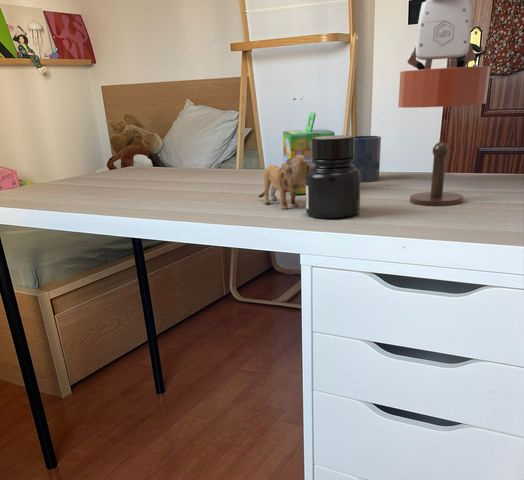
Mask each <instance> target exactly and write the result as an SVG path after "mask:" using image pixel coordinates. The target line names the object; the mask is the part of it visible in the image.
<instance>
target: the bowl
mask: <svg viewBox="0 0 524 480" xmlns="http://www.w3.org/2000/svg"><path fill="white" fill-rule="evenodd" d="M491 68H492V67H491V65H476V66H463V67H455V68H449V67H442V68H441V67H440V68H431V69H424V70H418V69H414V70H403V71H400V73H399V86H398V87H399V91H398V105H397V107H398V108H401V109H402V108H403V109H404V108H407V109H408V108H409V109H410V108H412V109H413V108H444V107H461V106H462V107H464V106H477V105H484V104H487V100H488V99H487V98H488V89H489V82H490V74H491Z"/></svg>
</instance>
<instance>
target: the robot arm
mask: <svg viewBox="0 0 524 480" xmlns="http://www.w3.org/2000/svg"><path fill="white" fill-rule="evenodd" d="M416 29H417V30H416V39H415V46H414V47H413V50H412V51H411V53H410V54H409V57H408V59H407V64H408V65H410V66H411V67H413V68H416V70H424V69H432V64H433V60H444V59H448V68H455V67H465V65H467V64H468V63H471V62H472V61H474V60H475V59H476V53H475V51H474V49H473V47H472V44H471V29H472V0H425V1H423V2H422V3H421V6H420V10H419V15H418V20H417V28H416ZM464 56H465V57H464ZM461 57H463V58H461ZM457 58H461V59H460V60H459V61H457V60H458V59H457ZM417 59H418V60H417ZM419 60H421V61H422V60H423V61H425V63H424V64H423V63H422V62H421V61H419Z"/></svg>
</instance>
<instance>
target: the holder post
mask: <svg viewBox="0 0 524 480" xmlns="http://www.w3.org/2000/svg"><path fill="white" fill-rule="evenodd" d="M449 150H450V149H449V145H448V144H447V143H446V142H443V141H440V142H439V141H438V142H436V144H434V146H433V147H432V155H433V163H432V175H431V184H430V185H431V186H430V191H425V192H417V193H414V194H411V195H410V196H409V202H410V203H411V204H414V205H420V206H427V207H429V206H430V207H444V206H445V207H446V206H454V205H458V204H461V203H463V201H464V195H462V194H461V193H456V192H448V191H447V192H446V191H444V183H445V182H444V181H445V173H446V172H445V171H446V162H447V155H448V153H449Z"/></svg>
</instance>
